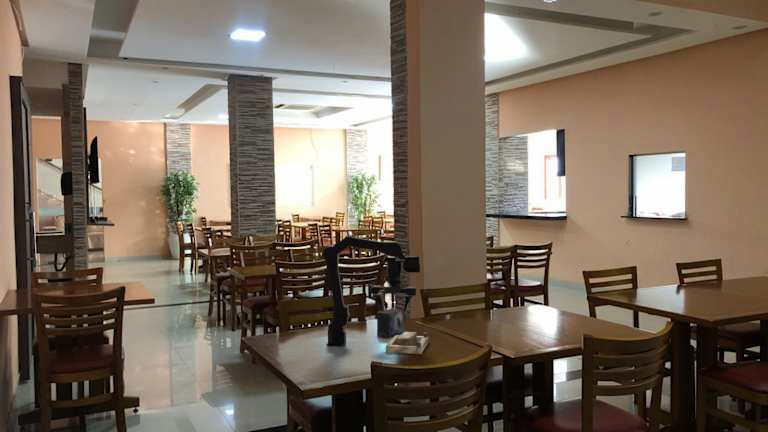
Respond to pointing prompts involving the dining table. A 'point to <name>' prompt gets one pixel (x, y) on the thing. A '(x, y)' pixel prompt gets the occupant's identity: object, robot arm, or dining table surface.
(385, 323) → the small box
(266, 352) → the dining table surface
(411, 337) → the frame
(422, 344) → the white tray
